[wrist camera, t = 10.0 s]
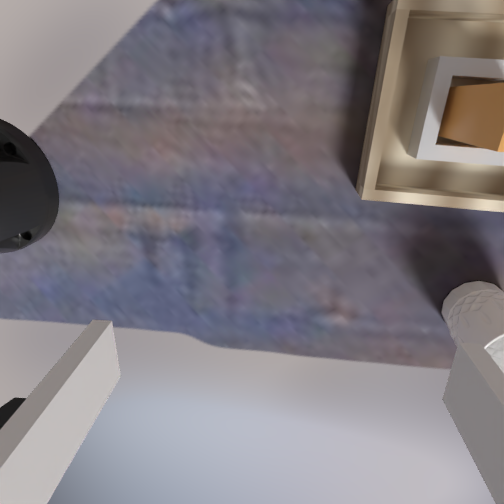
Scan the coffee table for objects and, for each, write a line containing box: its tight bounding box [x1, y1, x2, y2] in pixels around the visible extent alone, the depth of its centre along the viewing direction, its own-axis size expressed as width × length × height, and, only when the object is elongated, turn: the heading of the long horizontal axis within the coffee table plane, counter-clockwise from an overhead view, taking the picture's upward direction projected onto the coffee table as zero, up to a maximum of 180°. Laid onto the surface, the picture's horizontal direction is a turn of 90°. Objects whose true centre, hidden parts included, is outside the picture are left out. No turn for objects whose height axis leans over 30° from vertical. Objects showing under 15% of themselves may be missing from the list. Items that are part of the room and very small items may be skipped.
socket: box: [407, 56, 504, 166], centre depth 32 cm, size 8×8×3 cm
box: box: [356, 0, 504, 212], centre depth 32 cm, size 16×16×4 cm
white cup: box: [441, 281, 504, 373], centre depth 37 cm, size 8×8×10 cm
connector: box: [438, 83, 504, 152], centre depth 27 cm, size 4×4×13 cm
